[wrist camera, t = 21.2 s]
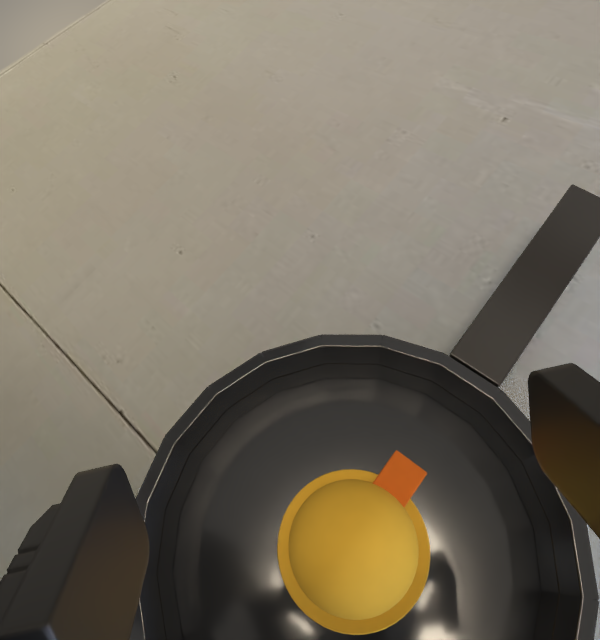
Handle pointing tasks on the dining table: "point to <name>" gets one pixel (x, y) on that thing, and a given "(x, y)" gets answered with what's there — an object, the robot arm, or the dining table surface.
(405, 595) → the yellow duck figurine
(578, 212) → the pan handle
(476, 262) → the dining table surface
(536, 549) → the pan
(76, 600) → the robot arm
